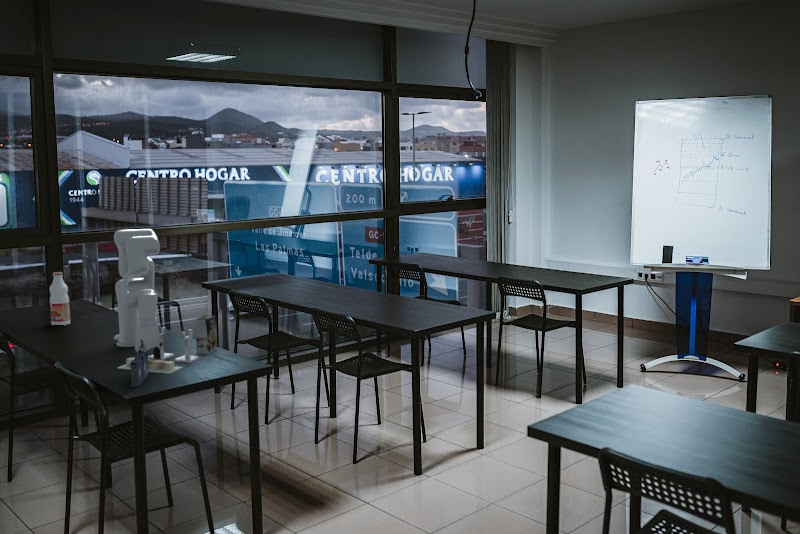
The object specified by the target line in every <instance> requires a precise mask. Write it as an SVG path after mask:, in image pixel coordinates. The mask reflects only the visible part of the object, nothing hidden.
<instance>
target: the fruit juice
mask: <svg viewBox="0 0 800 534" xmlns="http://www.w3.org/2000/svg"><path fill="white" fill-rule="evenodd" d="M52 276H53V280H52V283H51V284H50V286H49V293H50V297H49V309H50V323H51V326H53V325H64V326H68V325H70V324H71V311H70V309H71V308H70V297H69V295H68V291H69V287H68V285H67V284H66V283H65V281H64V278H63V276H64V274H63V272H62V271H57V272H53V273H52ZM67 324H68V325H67Z"/></svg>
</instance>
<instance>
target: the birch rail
mask: <svg viewBox="0 0 800 534" xmlns="http://www.w3.org/2000/svg"><path fill="white" fill-rule="evenodd" d="M135 358H136V357H131V356H130V357H129V358H126V359H125V363H126V366H130V363H131V362H132V361H133V360H134V359H135ZM174 366H175V361H171V360H156V359H148V368H152V369H161V370H172V369H174Z"/></svg>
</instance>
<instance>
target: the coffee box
mask: <svg viewBox="0 0 800 534" xmlns="http://www.w3.org/2000/svg"><path fill="white" fill-rule="evenodd" d="M217 337H218V336H217V315H202V316H199V317H196V318H195V342H196V344H195V345H196V346H195V347H196V350H195V351H196V354H200V355H201V354H202V355H210V354H212V353H214V352H215V351H218V340H217Z"/></svg>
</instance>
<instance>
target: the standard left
mask: <svg viewBox="0 0 800 534" xmlns="http://www.w3.org/2000/svg"><path fill="white" fill-rule="evenodd" d="M159 334H160V337H161V338H163V339H164V336H166V335H167V327H164V326H163V327H161V333H159ZM164 349H165V348H164V340H163V341H162V346H161V350H160V354H161V359H154V355H153V354H151V355H148V359H152V360H163V361H166V360H167V359H170V358H174V357H175V353H172V352H170V353H168V352H164Z"/></svg>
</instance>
